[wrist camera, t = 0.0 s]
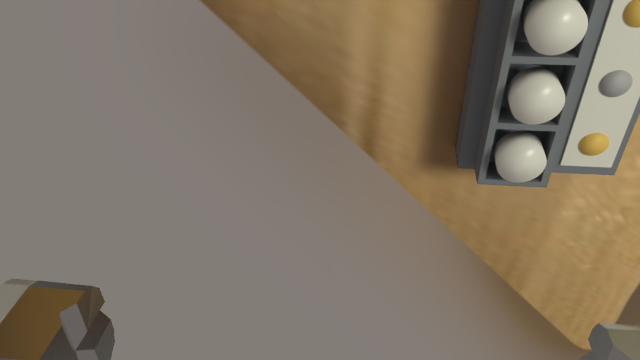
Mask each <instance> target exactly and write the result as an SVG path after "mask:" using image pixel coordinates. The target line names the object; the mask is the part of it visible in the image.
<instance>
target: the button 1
mask: <svg viewBox="0 0 640 360" xmlns="http://www.w3.org/2000/svg"><path fill="white" fill-rule="evenodd" d="M493 152H494V158H495V163H496V167H497V171H498V173H499V175H500V176H501V177H502V178H504V179H505V180H507V181H510V182H516V183H520V182H526V181H530V180H532V179H534V178H536V177H537V176H539V175H540V174H541V173H542V172H543V171H544V169H545V167H546V163H547V159H546V156H545V153H544V150H543V147H542V144H541V141H540V139H539V138H538V137H537V136H536V135H534V134H532V133H530V132H526V131H516V132H512V133H509V134H507V135H505V136H503V137H502V138H501V139H499V141H498V142H497V143H496V145H495V147H494V151H493Z"/></svg>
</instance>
